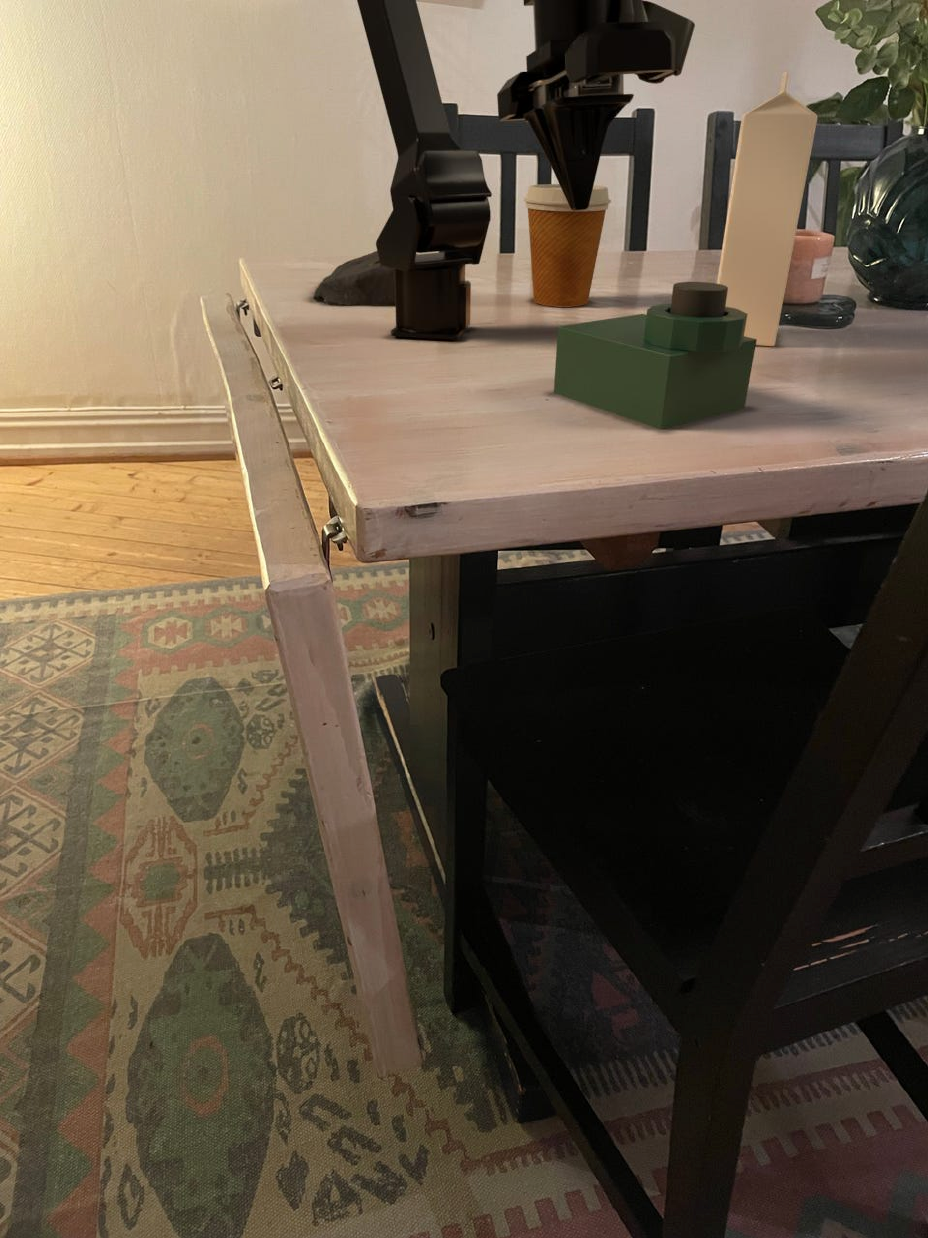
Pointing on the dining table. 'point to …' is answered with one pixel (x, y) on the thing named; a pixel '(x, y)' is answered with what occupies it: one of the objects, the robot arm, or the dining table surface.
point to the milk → (765, 210)
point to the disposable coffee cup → (563, 244)
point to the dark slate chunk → (359, 283)
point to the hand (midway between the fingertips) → (579, 209)
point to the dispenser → (657, 365)
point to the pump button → (698, 299)
